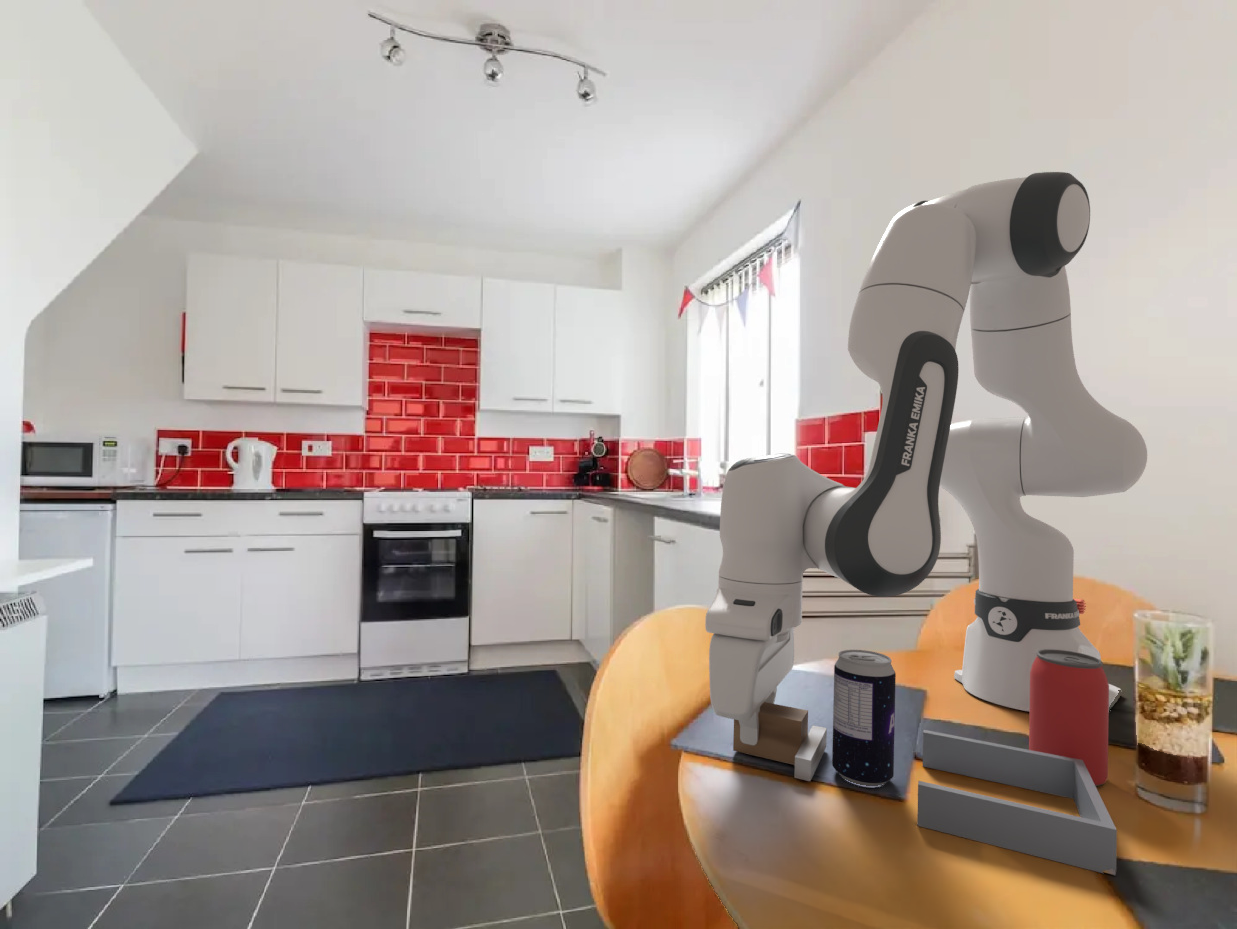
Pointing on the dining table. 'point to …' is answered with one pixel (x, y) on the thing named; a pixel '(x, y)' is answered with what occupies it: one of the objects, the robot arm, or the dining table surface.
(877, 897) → the dining table surface
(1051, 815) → the box
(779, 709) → the brown block
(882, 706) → the beverage can
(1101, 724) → the beer can
